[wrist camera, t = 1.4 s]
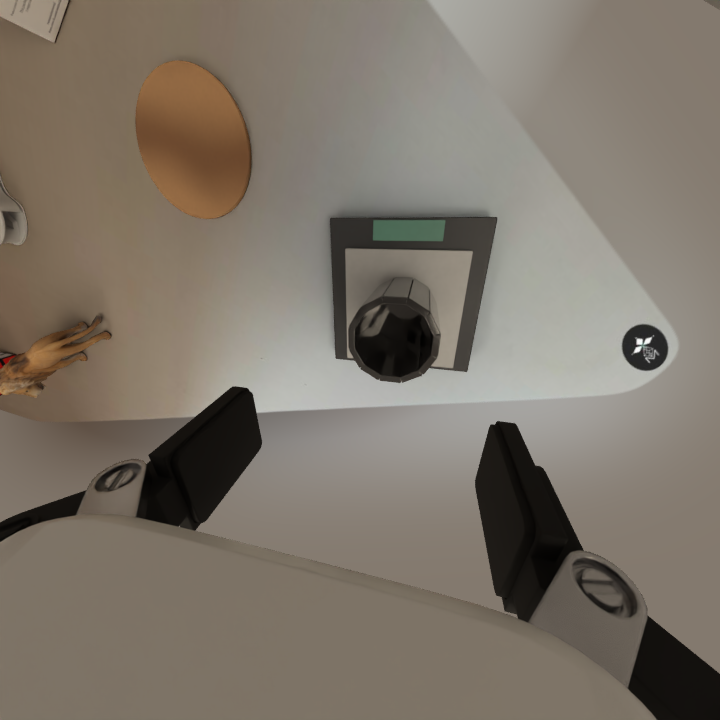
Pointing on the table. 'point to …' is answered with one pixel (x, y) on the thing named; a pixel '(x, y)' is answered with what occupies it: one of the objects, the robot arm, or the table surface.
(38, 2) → the ink box
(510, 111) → the table surface
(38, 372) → the lion figurine
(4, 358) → the puzzle toy
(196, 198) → the coaster
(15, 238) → the zipper pull
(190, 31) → the table surface
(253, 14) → the table surface
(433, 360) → the black cup
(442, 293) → the scale
